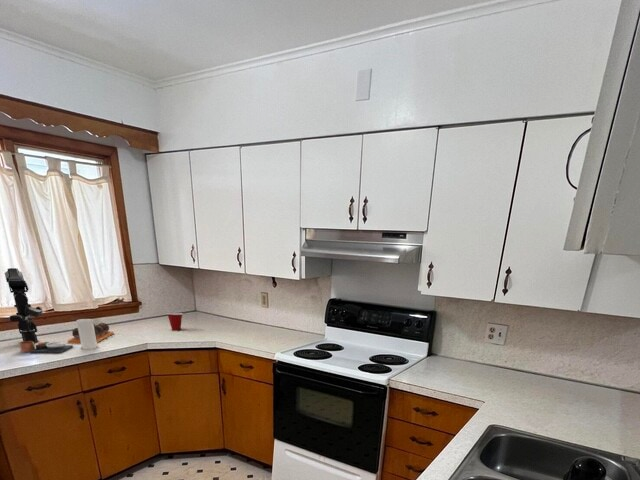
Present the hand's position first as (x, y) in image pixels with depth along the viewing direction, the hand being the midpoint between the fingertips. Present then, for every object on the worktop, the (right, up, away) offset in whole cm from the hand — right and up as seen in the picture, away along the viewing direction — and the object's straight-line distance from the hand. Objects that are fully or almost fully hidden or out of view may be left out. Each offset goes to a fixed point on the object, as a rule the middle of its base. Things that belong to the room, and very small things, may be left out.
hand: (28, 331), depth 235 cm
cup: (+26, -7, +15) cm, 30 cm away
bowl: (-3, -10, +3) cm, 11 cm away
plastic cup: (+58, +15, +67) cm, 91 cm away
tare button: (+4, -7, +5) cm, 9 cm away
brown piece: (+15, +3, +36) cm, 39 cm away
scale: (+9, -10, +6) cm, 15 cm away
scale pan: (+10, -7, +5) cm, 13 cm away
